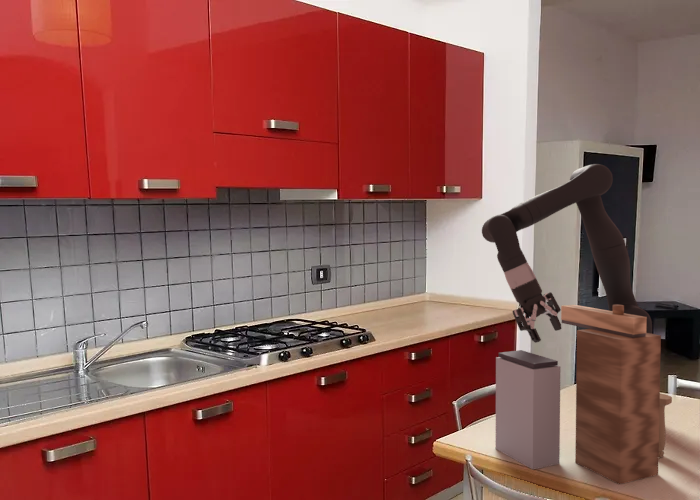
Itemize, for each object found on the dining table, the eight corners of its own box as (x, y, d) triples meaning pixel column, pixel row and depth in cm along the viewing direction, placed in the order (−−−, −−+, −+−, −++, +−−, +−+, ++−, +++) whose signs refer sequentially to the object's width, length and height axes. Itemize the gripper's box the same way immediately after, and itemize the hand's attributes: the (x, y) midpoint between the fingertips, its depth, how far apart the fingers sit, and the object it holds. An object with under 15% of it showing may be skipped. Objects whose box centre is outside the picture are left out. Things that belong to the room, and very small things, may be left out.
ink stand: (520, 443, 155) (521, 349, 154) (559, 463, 142) (560, 361, 141) (495, 448, 152) (496, 352, 151) (532, 469, 139) (533, 364, 138)
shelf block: (612, 454, 148) (614, 326, 146) (658, 474, 136) (660, 335, 134) (575, 462, 143) (577, 330, 141) (619, 484, 131) (621, 340, 130)
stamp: (573, 321, 153) (573, 296, 153) (646, 336, 133) (646, 308, 133) (561, 322, 152) (561, 297, 151) (633, 338, 132) (633, 309, 131)
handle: (666, 462, 143) (667, 400, 142) (638, 454, 147) (639, 395, 147) (673, 456, 146) (674, 396, 145) (645, 449, 151) (647, 390, 150)
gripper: (531, 276, 173) (556, 328, 171) (496, 294, 166) (521, 347, 164) (549, 270, 166) (574, 323, 164) (513, 288, 160) (539, 344, 158)
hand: (548, 335), depth 164 cm, fingers open, 8 cm apart
